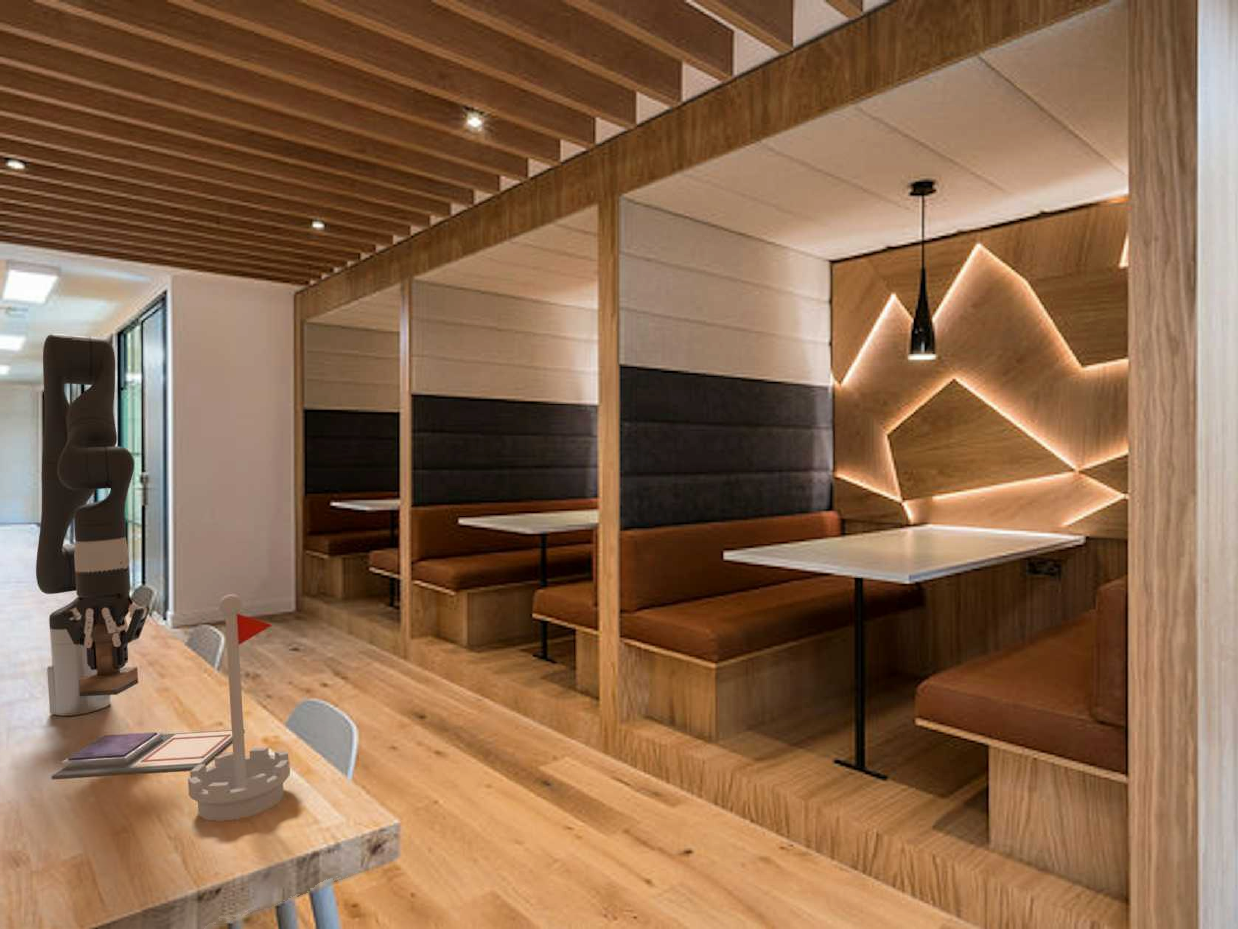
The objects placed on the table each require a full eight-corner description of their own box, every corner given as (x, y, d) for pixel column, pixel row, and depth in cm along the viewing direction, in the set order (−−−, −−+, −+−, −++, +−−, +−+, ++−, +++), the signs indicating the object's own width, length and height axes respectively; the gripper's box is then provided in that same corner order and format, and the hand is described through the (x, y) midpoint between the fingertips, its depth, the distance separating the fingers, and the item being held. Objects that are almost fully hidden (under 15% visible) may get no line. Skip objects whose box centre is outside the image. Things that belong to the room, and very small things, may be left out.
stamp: (79, 696, 126) (75, 624, 126) (102, 684, 132) (98, 615, 132) (117, 694, 127) (112, 622, 126) (138, 683, 133) (134, 614, 132)
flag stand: (184, 834, 102) (171, 608, 101) (195, 794, 114) (182, 592, 113) (291, 811, 107) (279, 596, 106) (290, 775, 119) (280, 582, 118)
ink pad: (62, 769, 124) (61, 760, 124) (104, 742, 135) (103, 734, 135) (125, 765, 125) (125, 756, 124) (162, 739, 135) (162, 730, 135)
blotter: (51, 778, 122) (51, 774, 122) (113, 739, 138) (112, 735, 137) (200, 769, 123) (200, 764, 123) (244, 731, 139) (244, 727, 139)
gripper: (43, 571, 125) (49, 677, 125) (132, 568, 125) (138, 672, 126) (73, 564, 132) (79, 663, 133) (157, 560, 133) (163, 659, 133)
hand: (108, 667), depth 129 cm, fingers closed on stamp, 3 cm apart
